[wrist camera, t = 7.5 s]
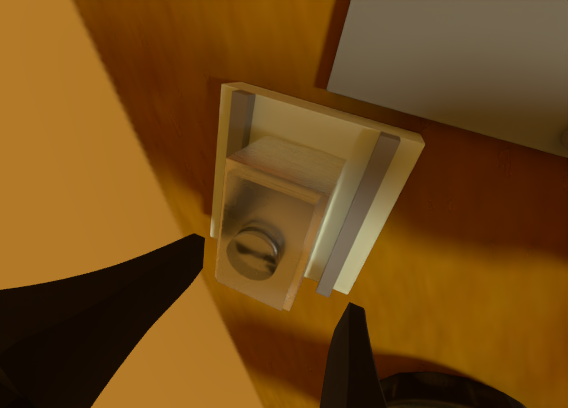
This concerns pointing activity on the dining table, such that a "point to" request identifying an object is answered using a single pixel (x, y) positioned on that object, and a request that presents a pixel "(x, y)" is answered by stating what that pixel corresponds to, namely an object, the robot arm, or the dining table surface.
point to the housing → (273, 217)
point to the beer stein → (441, 392)
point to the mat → (462, 65)
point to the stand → (353, 181)
